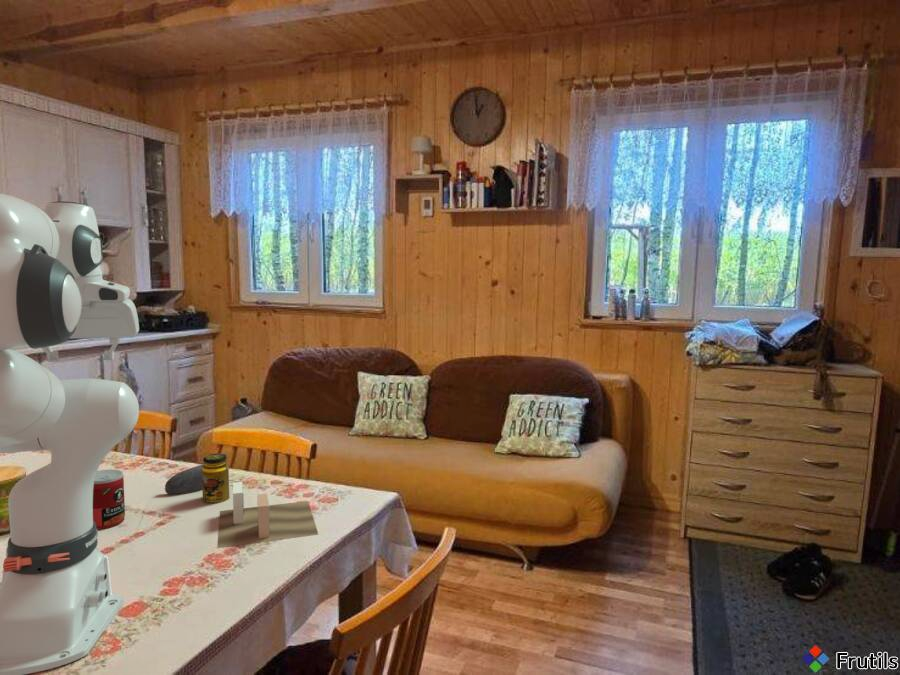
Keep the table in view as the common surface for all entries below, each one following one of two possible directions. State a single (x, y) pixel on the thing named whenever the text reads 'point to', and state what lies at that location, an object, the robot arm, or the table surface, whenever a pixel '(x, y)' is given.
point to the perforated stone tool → (185, 481)
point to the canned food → (108, 498)
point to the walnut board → (282, 524)
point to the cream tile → (238, 503)
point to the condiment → (215, 478)
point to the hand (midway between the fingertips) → (81, 360)
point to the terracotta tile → (263, 516)
